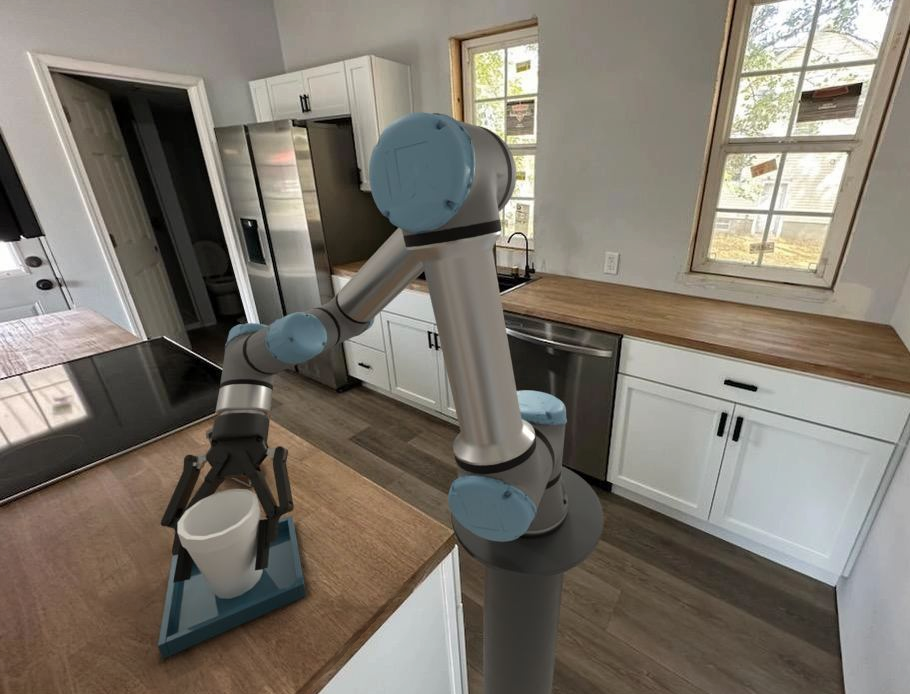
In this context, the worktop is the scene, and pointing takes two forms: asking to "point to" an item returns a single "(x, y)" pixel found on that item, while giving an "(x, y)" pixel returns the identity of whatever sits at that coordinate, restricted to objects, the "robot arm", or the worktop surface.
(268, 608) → the tray
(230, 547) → the foam cup
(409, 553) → the worktop surface
